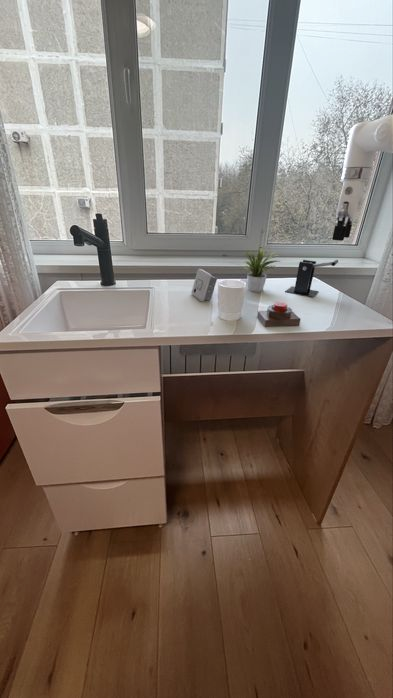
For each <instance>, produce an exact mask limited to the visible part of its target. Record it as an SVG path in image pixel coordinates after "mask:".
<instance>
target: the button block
mask: <svg viewBox="0 0 393 698" xmlns="http://www.w3.org/2000/svg"><path fill="white" fill-rule="evenodd" d="M273 306H274V304H270V305H269V306H267V309H266V310H258V311H257V315H256V318H257V319H258V321H259V322H260V323H261V325H262V326H263V327H264V328H281V327H282V328H284V327H287V328H288V327H300V324H301V317H299V316H298V315H297V314H296V313H294V312H293V309H292V308H291V307H289V306H287V309H286V311H283V312H280V311H275V310H273Z"/></svg>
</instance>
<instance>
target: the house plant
mask: <svg viewBox="0 0 393 698" xmlns="http://www.w3.org/2000/svg"><path fill="white" fill-rule="evenodd" d="M270 249H271V247H270V248H268V249H266V250H265V252H263V250H264V249H263V248H261V246H260V245H259V247H258V248H257V255H255V253H254V252H253V251H252V249H251V250H250V249H249V252H248V251H246V252H243V254H244V255H245V256H246V257H247V259H248V260H249V261H244V263H245V264H247V265H244V267H243V269H244V270H243V271H246V270H249V271H251V272H249V273H247V274H246V278H247V290H248V291H250V292H263V290H264V287H265V285H266V284H265V283H266V280H267V277H268V275H267V274H265V273H266V272H267V270H275V265H270V264H273V263H278V262H279V263H280V262H281V260H270V259H275V258H276V256H279V255H278V254H276V253H277V251H275V252H272V253H270V254H269V255H268V256H267V257H265V256H266V254H267V253H268V252H269V251H270ZM274 254H275V255H274ZM264 258H265V259H264ZM263 259H264V260H263Z"/></svg>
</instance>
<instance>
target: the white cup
mask: <svg viewBox="0 0 393 698" xmlns="http://www.w3.org/2000/svg"><path fill="white" fill-rule="evenodd" d="M246 289H247V283H246V282H244V281H242V280H238V279H223V280H220V281H218V282H217V310H218V311H217V316H218V318H219V319H220V320H224V321H226V322H227V321H229V322H233V321H234V322H235V321H238V320H240V319H241V318H242V312H243V309H244V308H243V307H244V302H245V295H246Z"/></svg>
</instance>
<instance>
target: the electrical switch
mask: <svg viewBox="0 0 393 698" xmlns="http://www.w3.org/2000/svg"><path fill="white" fill-rule="evenodd" d="M217 280H218V278H217V277H216V276H213V275H212V274H211V273H209V272H207V271H205V270H204V269H202V268H198V269H197V271H196V275H195V279H194V282H193V285H192V289H191V295H192V296H193V297H194V298H196V299H197V300H198V301H200V302H202V303H204V301H211V300H212V296H213V293H214V290H215V287H216V285H217V284H216V283H217Z"/></svg>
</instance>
